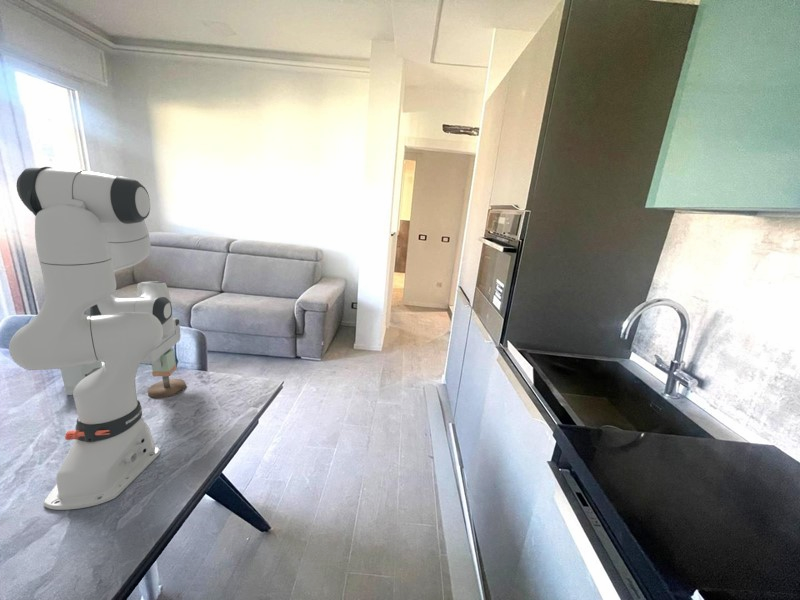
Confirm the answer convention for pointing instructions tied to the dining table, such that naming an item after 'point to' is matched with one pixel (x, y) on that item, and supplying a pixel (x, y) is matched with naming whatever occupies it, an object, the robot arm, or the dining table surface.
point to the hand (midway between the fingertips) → (163, 363)
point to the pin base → (166, 387)
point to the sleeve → (165, 364)
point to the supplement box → (77, 375)
